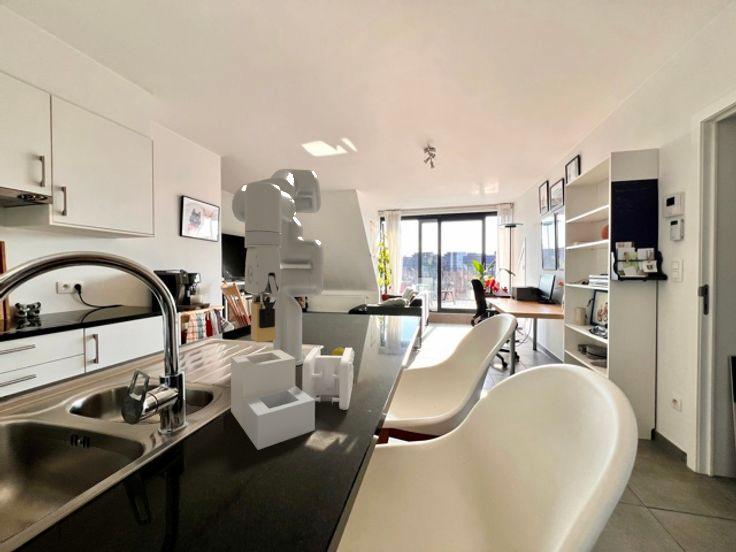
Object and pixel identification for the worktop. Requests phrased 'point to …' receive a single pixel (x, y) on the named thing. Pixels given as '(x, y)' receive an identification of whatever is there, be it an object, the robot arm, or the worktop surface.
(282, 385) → the stepped foam insert
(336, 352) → the lemon
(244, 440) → the worktop surface
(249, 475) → the worktop surface
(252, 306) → the plug
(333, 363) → the cable organizer
